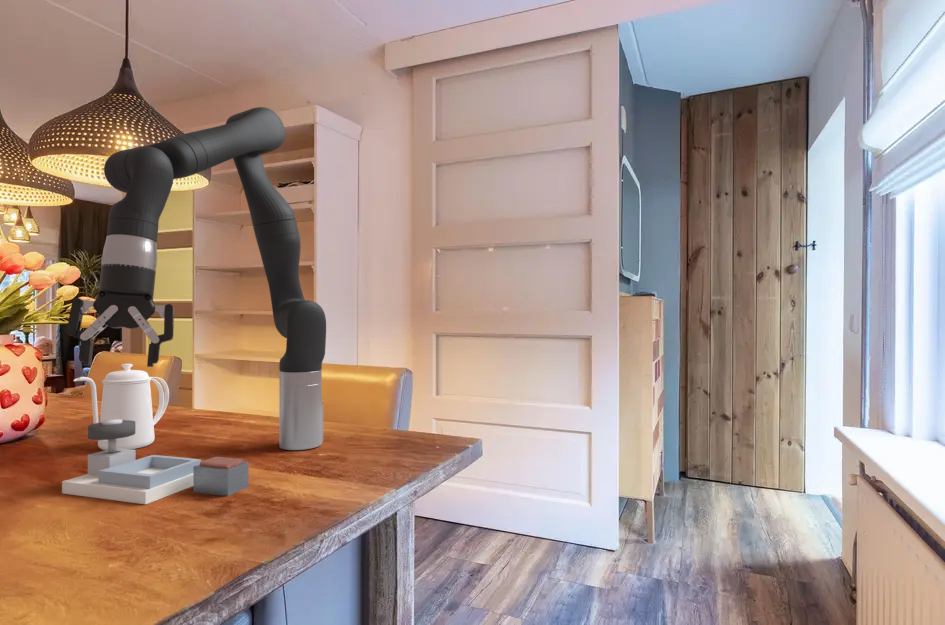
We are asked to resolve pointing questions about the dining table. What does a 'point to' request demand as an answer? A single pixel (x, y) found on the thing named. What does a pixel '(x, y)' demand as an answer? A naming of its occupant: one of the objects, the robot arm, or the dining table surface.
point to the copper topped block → (220, 476)
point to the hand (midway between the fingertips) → (119, 366)
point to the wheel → (111, 431)
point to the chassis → (132, 477)
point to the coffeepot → (129, 404)
